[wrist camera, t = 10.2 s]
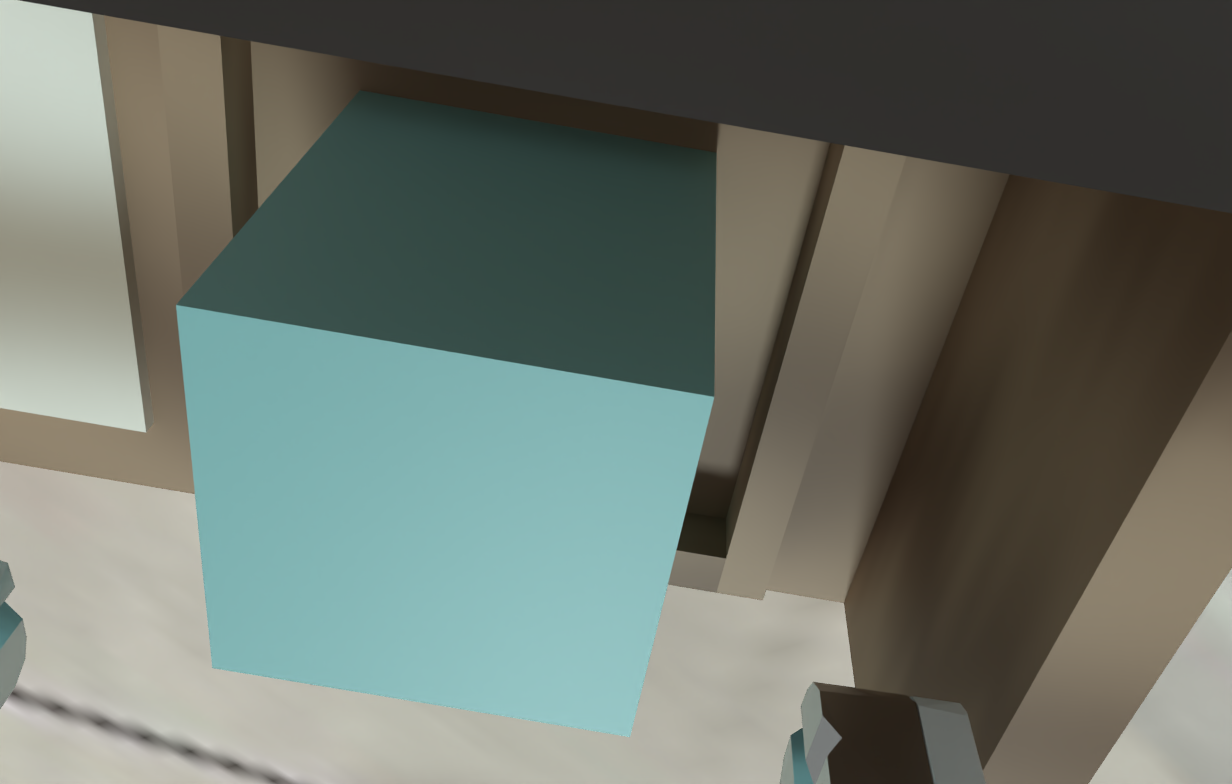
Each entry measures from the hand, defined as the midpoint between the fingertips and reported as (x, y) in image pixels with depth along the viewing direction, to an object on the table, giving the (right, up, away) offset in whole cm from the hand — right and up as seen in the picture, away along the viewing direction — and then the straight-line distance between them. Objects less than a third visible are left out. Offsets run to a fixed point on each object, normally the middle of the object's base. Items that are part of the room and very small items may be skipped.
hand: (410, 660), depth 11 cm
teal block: (+1, +4, +5) cm, 7 cm away
